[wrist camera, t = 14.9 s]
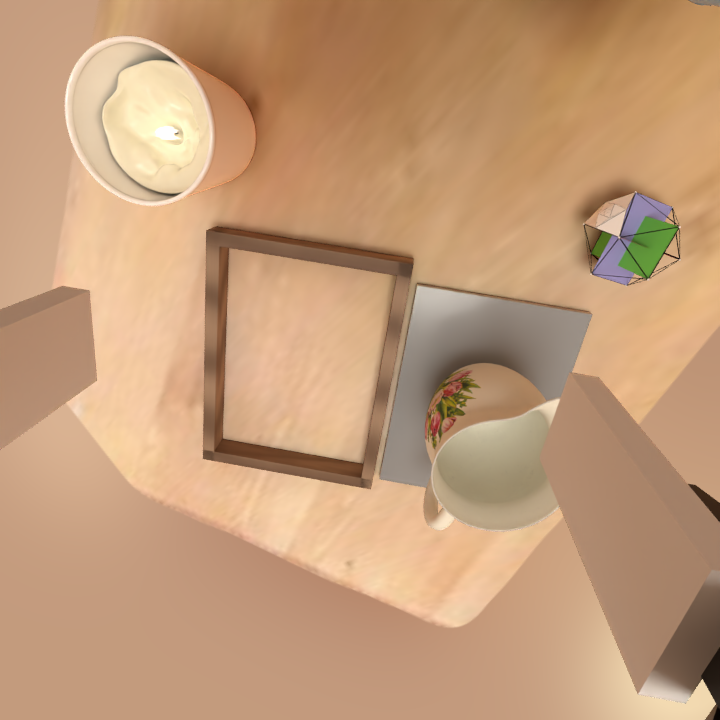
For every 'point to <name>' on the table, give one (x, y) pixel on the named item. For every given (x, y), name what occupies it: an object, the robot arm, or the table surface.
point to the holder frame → (216, 343)
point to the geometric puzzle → (631, 237)
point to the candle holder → (155, 122)
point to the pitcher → (488, 450)
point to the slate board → (472, 360)
